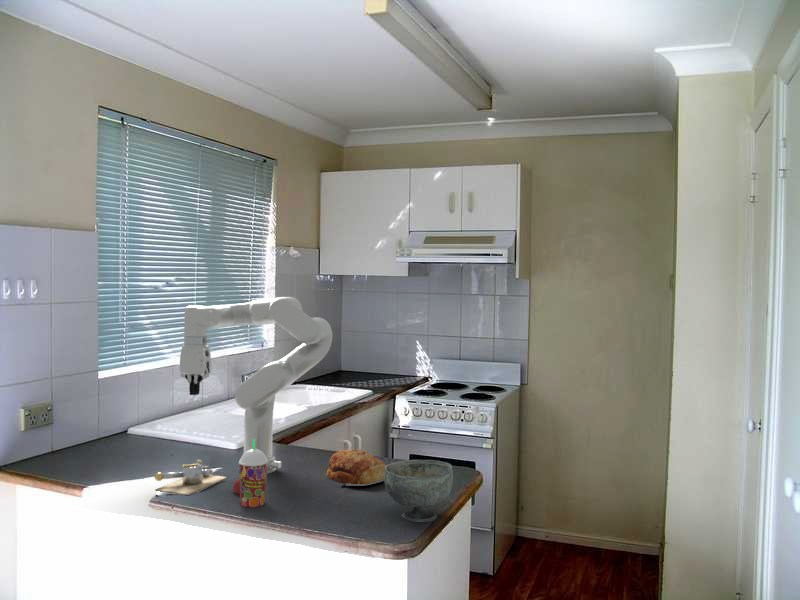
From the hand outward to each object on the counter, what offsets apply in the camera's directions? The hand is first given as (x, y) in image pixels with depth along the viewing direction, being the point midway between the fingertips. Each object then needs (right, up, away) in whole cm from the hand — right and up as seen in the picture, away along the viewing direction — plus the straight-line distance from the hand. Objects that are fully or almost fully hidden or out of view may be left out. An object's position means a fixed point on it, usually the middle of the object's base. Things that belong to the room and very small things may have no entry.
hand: (194, 394), depth 234 cm
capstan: (+3, -25, -21) cm, 33 cm away
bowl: (+76, -29, -44) cm, 92 cm away
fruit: (+24, -28, -27) cm, 45 cm away
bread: (+57, -28, -7) cm, 65 cm away
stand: (+5, -27, -20) cm, 34 cm away
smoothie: (+28, -28, -37) cm, 54 cm away
